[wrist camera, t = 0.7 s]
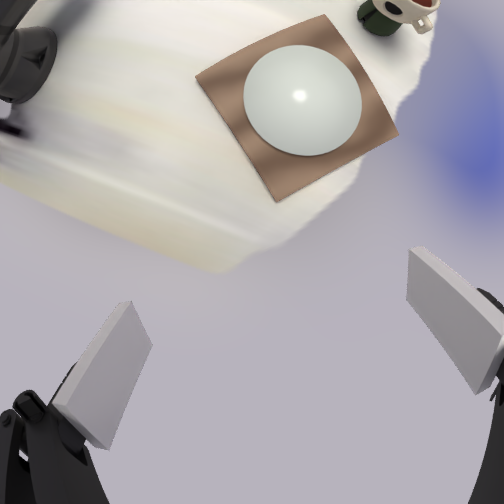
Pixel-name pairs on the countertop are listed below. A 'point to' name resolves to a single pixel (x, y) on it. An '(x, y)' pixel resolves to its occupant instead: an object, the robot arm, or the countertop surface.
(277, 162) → the stand
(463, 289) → the robot arm
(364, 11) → the character mug
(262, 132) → the saucer
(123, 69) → the countertop surface
